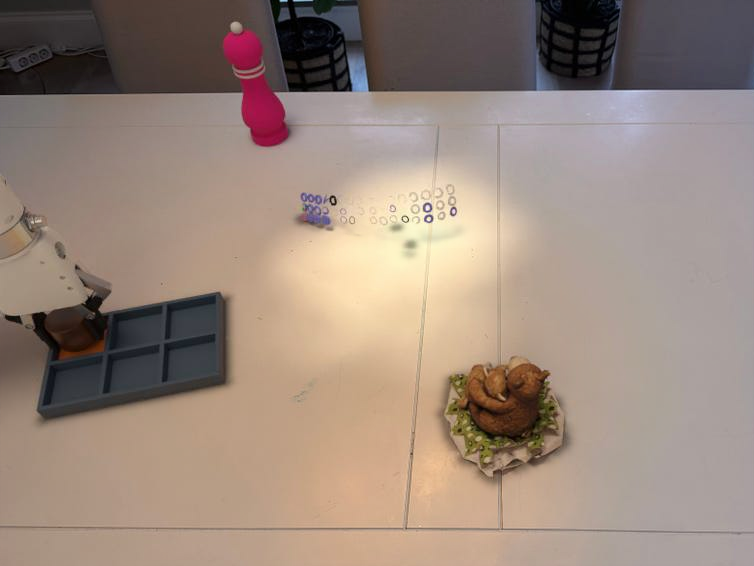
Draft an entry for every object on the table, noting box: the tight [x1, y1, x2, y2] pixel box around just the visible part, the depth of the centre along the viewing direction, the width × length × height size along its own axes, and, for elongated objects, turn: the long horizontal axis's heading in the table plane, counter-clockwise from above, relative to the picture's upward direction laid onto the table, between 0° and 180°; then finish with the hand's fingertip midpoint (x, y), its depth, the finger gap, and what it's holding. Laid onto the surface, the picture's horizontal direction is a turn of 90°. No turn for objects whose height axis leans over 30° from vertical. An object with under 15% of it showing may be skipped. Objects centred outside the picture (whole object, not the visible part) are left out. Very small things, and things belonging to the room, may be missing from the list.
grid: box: [36, 291, 226, 420], centre depth 88 cm, size 15×22×2 cm
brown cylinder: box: [44, 307, 97, 352], centre depth 87 cm, size 5×5×4 cm
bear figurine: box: [443, 355, 565, 478], centre depth 77 cm, size 14×15×12 cm
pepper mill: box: [222, 21, 289, 147], centre depth 111 cm, size 7×7×20 cm
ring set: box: [299, 183, 458, 251], centre depth 99 cm, size 25×12×12 cm, turn 72°
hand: (78, 335), depth 88 cm, fingers closed on brown cylinder, 5 cm apart
